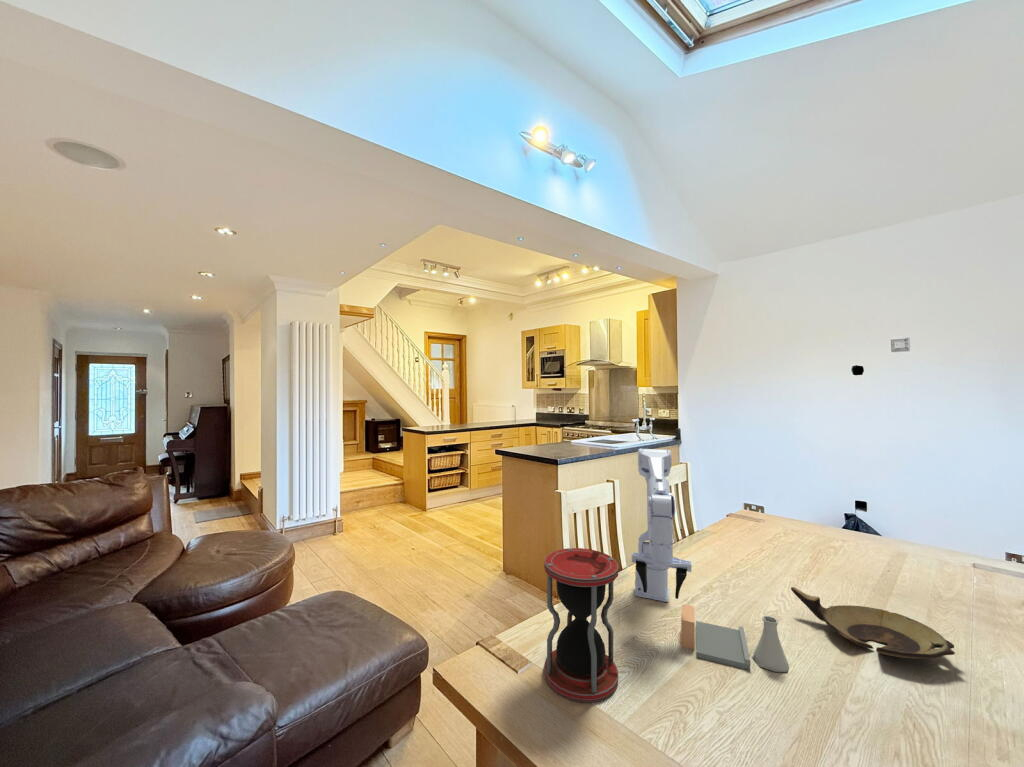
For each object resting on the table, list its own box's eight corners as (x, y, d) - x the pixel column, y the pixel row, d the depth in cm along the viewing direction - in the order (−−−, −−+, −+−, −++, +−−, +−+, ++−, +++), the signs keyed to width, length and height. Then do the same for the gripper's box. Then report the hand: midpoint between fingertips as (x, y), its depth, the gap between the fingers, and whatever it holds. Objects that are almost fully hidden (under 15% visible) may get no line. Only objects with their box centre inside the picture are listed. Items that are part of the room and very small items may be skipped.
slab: (681, 646, 101) (681, 619, 101) (682, 628, 108) (682, 604, 108) (694, 649, 100) (694, 622, 100) (694, 631, 107) (694, 606, 107)
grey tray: (696, 657, 97) (696, 647, 97) (696, 625, 109) (696, 617, 109) (750, 670, 92) (750, 660, 92) (743, 635, 105) (743, 627, 105)
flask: (783, 656, 97) (783, 613, 97) (793, 676, 90) (793, 631, 90) (749, 649, 100) (749, 608, 100) (756, 669, 93) (756, 624, 93)
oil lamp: (920, 692, 86) (920, 655, 86) (780, 617, 114) (780, 589, 114) (974, 665, 94) (974, 631, 94) (831, 601, 122) (831, 575, 122)
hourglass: (632, 696, 84) (632, 574, 84) (557, 709, 81) (557, 582, 81) (599, 647, 100) (599, 544, 100) (535, 656, 97) (535, 550, 97)
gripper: (630, 542, 106) (629, 595, 106) (691, 551, 100) (691, 607, 100) (633, 533, 112) (633, 583, 112) (691, 541, 106) (691, 594, 106)
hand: (660, 593), depth 106 cm, fingers open, 7 cm apart
